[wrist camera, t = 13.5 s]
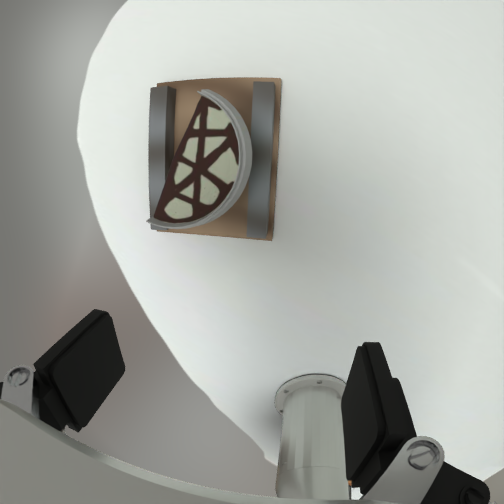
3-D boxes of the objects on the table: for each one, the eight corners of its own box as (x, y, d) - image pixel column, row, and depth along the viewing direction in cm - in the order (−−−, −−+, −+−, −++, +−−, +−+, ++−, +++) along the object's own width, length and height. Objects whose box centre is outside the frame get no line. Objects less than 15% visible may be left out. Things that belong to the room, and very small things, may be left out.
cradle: (272, 237, 33) (269, 248, 30) (160, 228, 35) (147, 237, 32) (281, 80, 27) (279, 72, 23) (161, 85, 28) (147, 80, 25)
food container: (233, 226, 32) (208, 260, 23) (185, 202, 32) (144, 227, 23) (282, 125, 27) (277, 115, 18) (229, 102, 27) (200, 84, 18)
